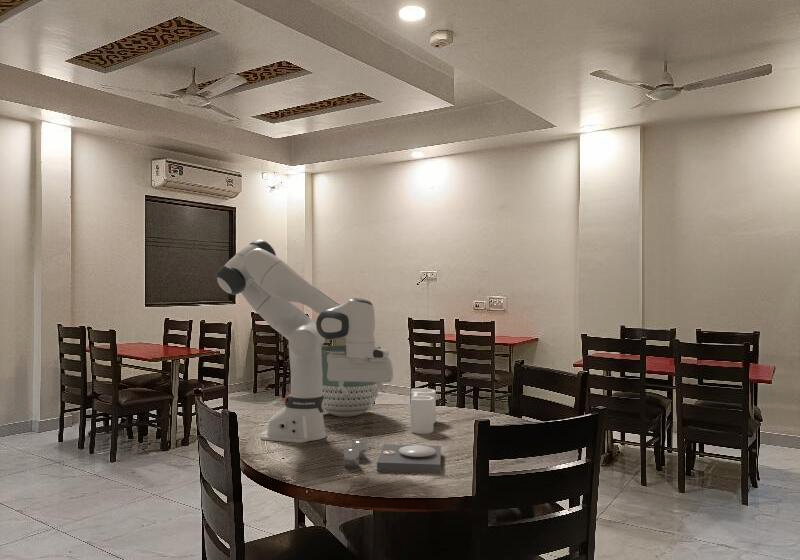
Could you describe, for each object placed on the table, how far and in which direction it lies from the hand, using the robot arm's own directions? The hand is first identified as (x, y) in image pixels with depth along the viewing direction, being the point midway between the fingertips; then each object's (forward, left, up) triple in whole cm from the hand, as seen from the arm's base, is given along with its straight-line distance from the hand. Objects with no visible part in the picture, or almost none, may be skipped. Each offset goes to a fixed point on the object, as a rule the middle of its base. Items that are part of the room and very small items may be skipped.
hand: (360, 396), depth 192 cm
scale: (+16, -3, -19) cm, 25 cm away
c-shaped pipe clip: (+18, +46, -19) cm, 53 cm away
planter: (-14, +61, -19) cm, 65 cm away
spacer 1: (-1, -9, -19) cm, 21 cm away
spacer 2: (0, 0, -19) cm, 19 cm away
